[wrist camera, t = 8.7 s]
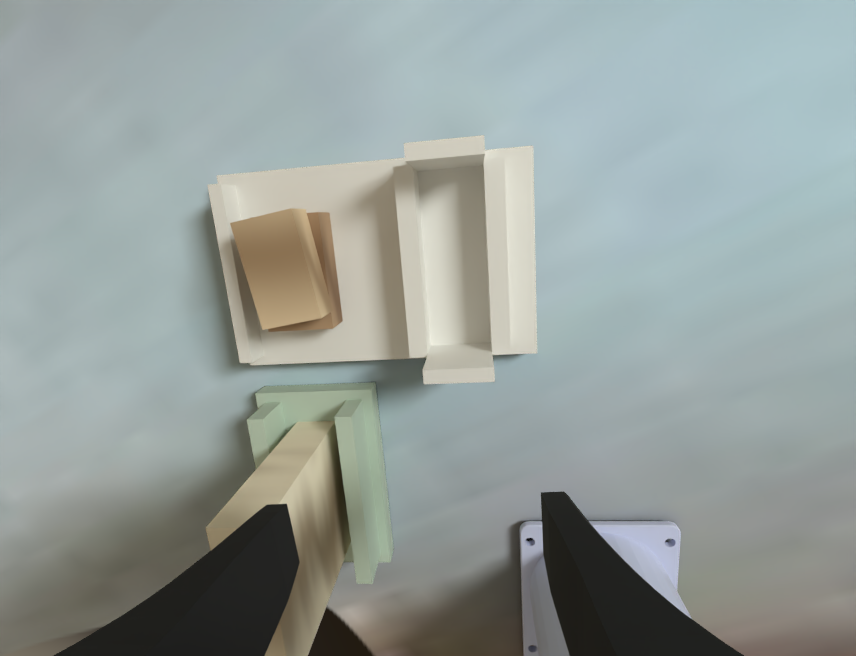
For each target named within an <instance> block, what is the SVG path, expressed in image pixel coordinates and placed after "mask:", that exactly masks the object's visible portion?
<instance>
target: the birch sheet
mask: <svg viewBox="0 0 856 656" xmlns="http://www.w3.org/2000/svg"><path fill="white" fill-rule="evenodd" d="M270 504H287V506H288V511H289V515H290V520H291V524H292V529H293V533H294V538H295V542H296V547H297V551H298V556H299V561H300V563H299V567H298V570H297V574H296V577H295V581H294V584H293V587H292V591H291V594H290V597H289V600H288V602H287V605H286V607H285V610H284V612H283V614H282V617H281V619H280V621H279V624H278V626H277V628H276V631H275V633H274V635H273V638H272V640H271V642H270V644H269V647H268V649H267V651H266V654H265V656H308V653H309V650H310V648H311V645H312V643H313V640H314V637H315V635H316V632H317V630H318V627H319V624H320V622H321V619H322V616H323V614H324V611H325V609H326V606H327V603H328V601H329V598H330V595H331V593H332V590H333V588H334V585H335V582H336V580H337V577H338V574H339V572H340V569H341V566H342V564H343V561H344V559H345V556H346V553H347V551H348V548H349V545H350V543H351V537H350V530H349V522H348V515H347V507H346V500H345V492H344V485H343V478H342V470H341V463H340V455H339V448H338V440H337V433H336V425H335V421H310V422H297V423H296V424H295V425H294V426H293V427H292V429H291V430H290V431H289V432H288V433H287V434H286V436H285V437H284V438H283V439H282V440H281V441H280V442H279V444H278V445H277V446H276V447H275V448H274V449H273V451H272V452H271V453H270V454H269V455H268V456H267V457H266V459H265V460H264V461H263V462H262V463H261V464H260V466H259V467H258V468H257V469H256V470H255V471H254V472H253V474H252V475H251V476H250V477H249V478H248V479H247V481H246V482H245V483H244V484H243V485H242V486H241V487H240V489H239V490H238V491H237V492H236V493H235V494H234V496H233V497H232V498H231V499H230V500H229V501H228V502H227V504H226V505H225V506H224V507H223V508H222V509H221V511H220V512H219V513H218V514H217V515H216V516H215V517H214V519H213V520H212V521H211V522H210V523H209V524H208V526H207V527H206V532H207V536H208V541H209V545H210V550H212V549H214V548H215V547H216V546H217V545H218V544H220V543H221V542H222V541H223V540H224V539H226V538H227V537H228V536H229V535H230V534H232V533H233V532H234V531H235V530H236V529H237V528H239V527H240V526H241V525H242V524H243V523H245V522H246V521H247V520H248V519H249V518H250V517H252V516H253V515H254V514H255V513H257V512H258V511H259V510H260V509H262V508H263V507H264V506H266V505H270Z"/></svg>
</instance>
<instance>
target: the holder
mask: <svg viewBox="0 0 856 656" xmlns="http://www.w3.org/2000/svg"><path fill="white" fill-rule="evenodd" d="M255 395H256V401H257V407H258V410H257V411H256V412H255V413H254V414H253V415H251V416H250V417H249V418H248V419H247V424H248V430H249V435H250V441H251V446H252V451H253V457H254V462H255V468H256V469H257V468H258V467H259V466H260V464H261V463H262V462H263V461H264V460H265V459H266V457H267V456H268V455H269V454H270V453H271V452H272V451H273V449H274V448H275V447H276V446H277V445H278V444H279V442H280V441H281V440H282V439H283V438H284V437H285V436H286V434H287V433H288V432H289V431H290V430H291V429H292V427H293V426H294V425H295V424H296V423H297V422H310V421H335V425H336V433H337V440H338V448H339V455H340V463H341V470H342V478H343V485H344V492H345V500H346V507H347V515H348V522H349V530H350V537H351V543H350V545H349V548H348V551H347V553H346V556H345V559H344V561H343V562H354V567H355V574H356V582H357V584H373V580H374V576H375V573H376V569H377V566H378V562H391V558H392V554H393V550H394V547H393V538H392V529H391V519H390V510H389V501H388V492H387V483H386V474H385V464H384V455H383V446H382V437H381V428H380V419H379V409H378V400H377V391H376V382H369V383H342V384H314V385H287V386H264V387H263V388H262V389H260V390H259V391H258V392H257V393H255Z"/></svg>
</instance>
